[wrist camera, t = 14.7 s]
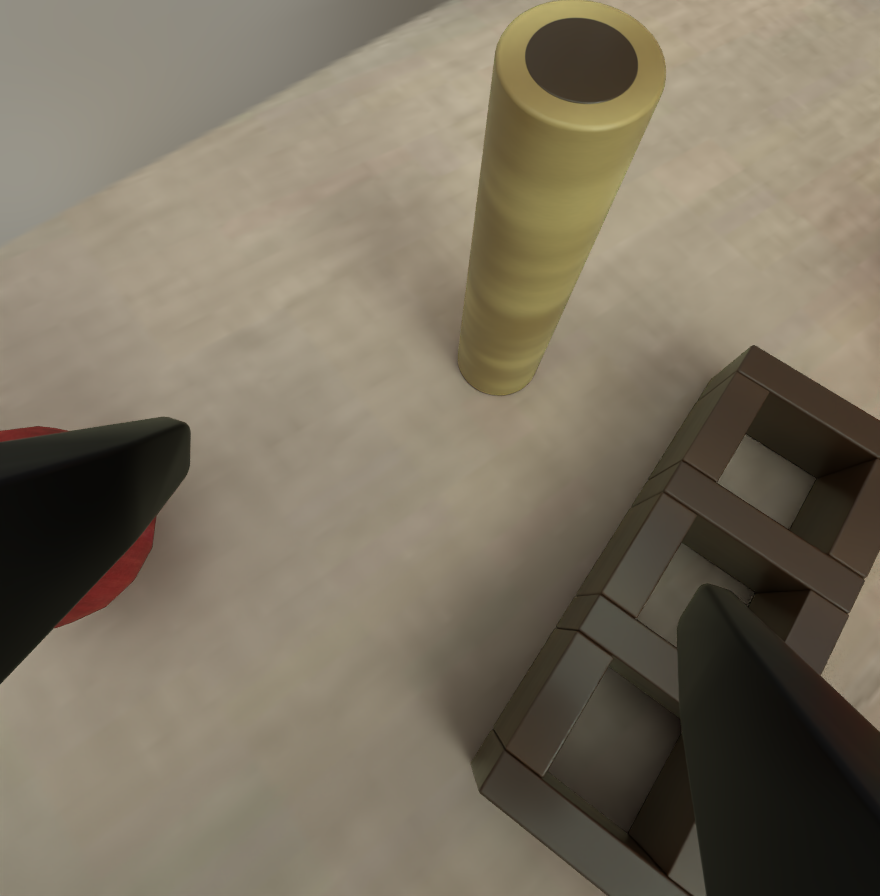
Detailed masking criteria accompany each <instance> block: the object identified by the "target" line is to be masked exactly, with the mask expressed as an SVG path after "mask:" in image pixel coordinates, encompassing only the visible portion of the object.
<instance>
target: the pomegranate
mask: <svg viewBox="0 0 880 896" xmlns="http://www.w3.org/2000/svg"><path fill="white" fill-rule="evenodd" d="M61 432H67V430H62V429H57V428H50V427H41V426H35V427H27V428H19V429H12V430H4V431H0V442H3V441H9V440H16V439H22V438H29V437H35V436H42V435H48V434H55V433H61ZM155 522H156V516H155V518H154V519H153V520H152V522H151V523H150V524H149V526H148V527H147V528H146V530H145V531H144V532H143V533H142V534H141V536H140V537H139V538H138V539H137V541H136V542H135V543H134V544H133V545H132V546H131V547H130V548H129V549H128V551H127V552H126V553H125V554H124V555H123V556H122V557H121V558H120V559H119V560H118V561H117V562H116V563H115V564H114V565H113V566H112V567H111V569H110V570H109V571H108V572H107V573H106V574H105V575H104V576H103V577H102V578H101V579H100V580H99V581H98V582H97V583H96V584H95V585H94V586H93V587H92V588H91V590H90V591H89V592H88V593H87V594H86V595H85V596H84V597H83V598H82V599H81V600H80V601H79V602H78V603H77V604H76V605H75V606H74V607H73V608H72V609H71V611H70V612H69V613H68V614H67V615H66V616H65V617H64V618H63V619H62V620H61V621H60V622H59V623H58V624H57V625H56V626H55V627H54V628H57V627H60V626H63V625H66V624H69V623H72V622H74V621H76V620H78V619H81V618H83V617H85V616H87V615H89V614H91V613H93V612H96V611H98V610H100V609H102V608H104V607H106V606H107V605H108V604H109V603H110V602H111V601H112V600H114V599H115V598H116V597H117V596H118V595H119V594H120V593H121V592H122V591H123V590H124V589H125V588H126V587H127V586H128V585H129V584H130V583H131V582H133V581H134V579H135V578H136V576H137V574H138V572H139V570H140V569H141V567H142V565H143V563H144V561H145V560H146V558H147V556H148V554H149V552H150V550H151V549H152V544H153V537H154V529H155Z"/></svg>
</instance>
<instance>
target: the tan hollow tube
mask: <svg viewBox="0 0 880 896" xmlns="http://www.w3.org/2000/svg"><path fill="white" fill-rule="evenodd" d="M665 80H666V65H665V59H664V56H663V53H662V50H661V48H660V46H659V44H658V42H657V41H656V39H655V38H654V37H653V35H652V34H651V33H650V32H649V31H648V30H647V28H646V27H645V26H643V25H642V24H641V23H640V22H639V21H637V20H636V19H634V18H633V17H631V16H630V15H628V14H626V13H624V12H623V11H621V10H619V9H616V8H614V7H611V6H608V5H605V4H602V3H598V2H593V1H586V0H558V1H553V2H548V3H544V4H541V5H538V6H535V7H533V8H531V9H529V10H527V11H525V12H524V13H522V14H520V15H519V16H518V17H517V18H515V19H514V20H513V21H512V22H511V23H510V24H509V25H508V27H507V28H506V29H505V31H504V32H503V34H502V35H501V37H500V39H499V42H498V44H497V47H496V51H495V58H494V66H493V74H492V82H491V90H490V98H489V106H488V114H487V122H486V130H485V138H484V146H483V155H482V163H481V171H480V179H479V187H478V195H477V203H476V211H475V219H474V227H473V235H472V243H471V251H470V259H469V267H468V275H467V284H466V292H465V300H464V308H463V316H462V324H461V332H460V340H459V348H458V365H459V368H460V371H461V373H462V375H463V376H464V378H465V379H466V380H467V382H468V383H469V384H470V385H472V386H473V387H474V388H476V389H477V390H479V391H481V392H484V393H487V394H491V395H508V394H511V393H514V392H517V391H519V390H521V389H522V388H524V387H525V386H526V385H527V384H528V383H529V382H530V381H531V379H532V378H533V376H534V374H535V372H536V370H537V368H538V366H539V363H540V361H541V359H542V357H543V355H544V352H545V350H546V348H547V346H548V344H549V341H550V339H551V337H552V335H553V333H554V330H555V328H556V326H557V324H558V322H559V319H560V317H561V315H562V313H563V311H564V308H565V306H566V304H567V302H568V300H569V297H570V295H571V293H572V291H573V289H574V286H575V284H576V282H577V280H578V278H579V275H580V273H581V271H582V269H583V267H584V264H585V262H586V260H587V258H588V256H589V253H590V251H591V249H592V247H593V245H594V242H595V240H596V238H597V236H598V234H599V231H600V229H601V227H602V225H603V223H604V220H605V218H606V216H607V214H608V212H609V209H610V207H611V205H612V203H613V201H614V198H615V196H616V194H617V192H618V190H619V187H620V185H621V183H622V181H623V179H624V176H625V174H626V172H627V170H628V168H629V165H630V163H631V161H632V159H633V157H634V154H635V152H636V150H637V148H638V146H639V143H640V141H641V139H642V137H643V135H644V132H645V130H646V128H647V126H648V124H649V121H650V119H651V117H652V115H653V113H654V110H655V108H656V106H657V104H658V102H659V99H660V97H661V95H662V92H663V89H664V87H665Z"/></svg>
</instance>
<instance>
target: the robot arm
mask: <svg viewBox="0 0 880 896" xmlns="http://www.w3.org/2000/svg"><path fill="white" fill-rule="evenodd" d="M190 440H191V432H190V427H189V426H188V425H187V423H185V422H182V421H179V420H176V419H172V418H169V417H158V418H151V419H145V420H138V421H132V422H126V423H119V424H113V425H106V426H100V427H93V428H87V429H80V430H74V431H67V432H61V433H55V434H48V435H42V436H35V437H29V438H22V439H16V440H9V441H3V442H0V684H1V683H2V682H3V681H4V680H5V679H6V678H7V677H8V676H9V675H10V674H11V673H12V671H13V670H14V669H15V668H16V667H17V666H18V665H19V664H20V663H21V662H22V661H23V660H24V659H25V658H26V657H27V656H28V655H29V654H30V653H31V652H32V650H33V649H34V648H35V647H36V646H37V645H38V644H39V643H40V642H41V641H42V640H43V639H44V638H45V637H46V636H47V635H48V634H49V633H50V632H51V631H52V629H53V628H54V627H55V626H56V625H57V624H58V623H59V622H60V621H61V620H62V619H63V618H64V617H65V616H66V615H67V614H68V613H69V612H70V611H71V609H72V608H73V607H74V606H75V605H76V604H77V603H78V602H79V601H80V600H81V599H82V598H83V597H84V596H85V595H86V594H87V593H88V592H89V591H90V590H91V588H92V587H93V586H94V585H95V584H96V583H97V582H98V581H99V580H100V579H101V578H102V577H103V576H104V575H105V574H106V573H107V572H108V571H109V570H110V569H111V567H112V566H113V565H114V564H115V563H116V562H117V561H118V560H119V559H120V558H121V557H122V556H123V555H124V554H125V553H126V552H127V551H128V549H129V548H130V547H131V546H132V545H133V544H134V543H135V542H136V541H137V539H138V538H139V537H140V536H141V534H142V533H143V532H144V531H145V530H146V528H147V527H148V526H149V524H150V523H151V522H152V520H153V519H154V518H155V516H156V515H157V514H158V512H159V511H160V510H161V509H162V507H163V506H164V505H165V503H166V502H167V501H168V499H169V498H170V497H171V495H172V494H173V493H174V491H175V490H176V489H177V488H178V486H179V485H180V484H181V482H182V481H183V480H184V478H185V477H186V475H187V473H188V470H189V467H190ZM677 654H678V685H679V709H680V721H681V729H682V737H683V743H684V750H685V757H686V763H687V770H688V777H689V783H690V790H691V797H692V803H693V810H694V817H695V823H696V830H697V837H698V844H699V850H700V857H701V864H702V870H703V877H704V884H705V890H706V896H880V732H879V731H878V730H877V729H876V728H875V727H874V726H873V725H872V724H871V723H870V722H869V721H868V720H867V719H866V718H864V717H863V716H862V715H861V714H860V713H859V712H858V711H857V710H856V709H855V708H854V707H853V706H852V705H851V704H850V703H849V702H848V701H846V700H845V699H844V698H843V697H842V696H841V695H840V694H839V693H838V692H837V691H836V690H835V689H834V688H833V687H832V686H831V685H830V684H829V683H827V682H826V681H825V680H824V679H823V678H822V677H821V676H820V675H819V674H818V673H817V672H816V671H815V670H814V669H813V668H812V667H811V666H810V665H808V664H807V663H806V662H805V661H804V660H803V659H802V658H801V657H800V656H799V655H798V654H797V653H796V652H795V651H794V650H793V649H792V648H791V647H789V646H788V645H787V644H786V643H785V642H784V641H783V640H782V639H781V638H780V637H779V636H778V635H777V634H776V633H775V632H774V631H773V630H772V629H770V628H769V627H768V626H767V625H766V624H765V623H764V622H763V621H762V620H761V619H760V618H759V617H758V616H757V615H756V614H755V613H754V612H752V611H751V610H750V609H749V608H748V607H747V606H746V605H745V604H744V603H743V602H742V601H741V600H740V599H739V598H738V597H737V596H736V595H735V594H733V593H732V592H731V591H729V590H727V589H724V588H721V587H718V586H714V585H711V584H703V585H701V586H700V587H699V588H698V590H697V591H696V593H695V594H694V596H693V598H692V599H691V601H690V603H689V604H688V606H687V607H686V609H685V611H684V612H683V614H682V616H681V617H680V620H679V622H678V626H677Z"/></svg>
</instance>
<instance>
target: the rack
mask: <svg viewBox="0 0 880 896" xmlns="http://www.w3.org/2000/svg"><path fill="white" fill-rule="evenodd" d="M746 433H747V434H748V435H750V436H751V437H753V438H755V439H756V440H758V441H759V442H761V443H762V444H764V445H766V446H767V447H769V448H770V449H772V450H774V451H775V452H777V453H778V454H780V455H781V456H783V457H785V458H786V459H788V460H789V461H791V462H793V463H794V464H796V465H797V466H799V467H801V468H802V469H804V470H805V471H807V472H808V473H810V474H812V475H813V476H815V477H816V478H818V479H817V480H816V481H815V483H814V485H813V487H812V489H811V491H810V493H809V495H808V496H807V498H806V500H805V502H804V504H803V506H802V508H801V510H800V512H799V513H798V515H797V517H796V519H795V521H794V523H793V525H792V527H791V529H790V530H788V529H787V528H785V527H784V526H782V525H781V524H779V523H778V522H776V521H774V520H773V519H771V518H770V517H768V516H767V515H765V514H764V513H762V512H761V511H759V510H758V509H756V508H754V507H753V506H751V505H750V504H748V503H747V502H745V501H744V500H742V499H741V498H739V497H738V496H736V495H735V494H733V493H731V492H730V491H728V490H727V489H725V488H724V487H722V486H721V485H719V484H718V483H716V482H717V481H718V480H719V478H720V476H721V475H722V473H723V471H724V469H725V468H726V466H727V464H728V463H729V461H730V459H731V458H732V456H733V454H734V452H735V451H736V449H737V447H738V446H739V444H740V442H741V440H742V439H743V437H744V435H745V434H746ZM648 480H649V481H647V482H646V484H645V486H644V487H643V489H642V490H641V492H640V493H639V495H638V497H637V498H636V500H635V501H634V503H633V505H632V508H631V509H629V511H628V513H627V514H626V516H625V517H624V519H623V520H622V522H621V524H620V525H619V527H618V528H617V530H616V532H615V533H614V535H613V536H612V538H611V540H610V541H609V543H608V544H607V546H606V548H605V549H604V551H603V552H602V554H601V556H600V557H599V559H598V560H597V562H596V564H595V565H594V567H593V568H592V570H591V572H590V573H589V575H588V576H587V578H586V580H585V581H584V583H583V584H582V586H581V588H580V589H579V591H578V592H577V594H576V596H577V597H574V599H573V600H572V602H571V603H570V605H569V607H568V608H567V610H566V611H565V613H564V615H563V616H562V618H561V619H560V621H559V623H558V624H557V626H556V627H557V629H554V631H553V632H552V634H551V635H550V637H549V639H548V640H547V642H546V643H545V645H544V647H543V648H542V650H541V651H540V653H539V655H538V656H537V658H536V659H535V661H534V663H533V664H532V666H531V667H530V669H529V671H528V672H527V674H526V675H525V677H524V679H523V680H522V682H521V683H520V685H519V687H518V688H517V690H516V691H515V693H514V695H513V696H512V698H511V699H510V701H509V703H508V704H507V706H506V707H505V709H504V711H503V712H502V714H501V715H500V717H499V718H498V720H497V722H496V723H495V725H494V730H491V731H490V733H489V734H488V736H487V738H486V739H485V741H484V742H483V744H482V746H481V747H480V749H479V750H478V752H477V754H476V755H475V757H474V758H473V760H472V762H471V767H472V770H473V773H474V777H475V780H476V783H477V787H478V790H479V792H480V794H482V795H483V796H484V797H485V798H487V799H488V800H489V801H490V802H492V803H493V804H494V805H495V806H497V807H498V808H499V809H500V810H502V811H503V812H504V813H505V814H506V815H508V816H509V817H510V818H511V819H513V820H514V821H515V822H516V823H518V824H519V825H520V826H521V827H523V828H524V829H525V830H526V831H528V832H529V833H530V834H531V835H533V836H534V837H535V838H536V839H538V840H539V841H540V842H541V843H543V844H544V845H545V846H546V847H548V848H549V849H550V850H551V851H553V852H554V853H555V854H556V855H558V856H559V857H560V858H561V859H563V860H564V861H565V862H566V863H567V864H569V865H570V866H571V867H572V868H574V869H575V870H576V871H577V872H579V873H580V874H581V875H582V876H584V877H585V878H586V879H587V880H589V881H590V882H591V883H592V884H594V885H595V886H596V887H597V888H599V889H600V890H601V891H602V892H604V893H605V894H606V895H607V896H706V890H705V884H704V877H703V870H702V864H701V857H700V850H699V844H698V837H697V830H696V823H695V817H694V810H693V803H692V797H691V790H690V783H689V777H688V770H687V763H686V757H685V750H684V743H683V737H682V733H681V735H680V737H679V739H678V740H677V742H676V744H675V746H674V748H673V750H672V752H671V754H670V756H669V757H668V759H667V761H666V763H665V765H664V767H663V769H662V771H661V772H660V774H659V776H658V778H657V780H656V782H655V784H654V786H653V788H652V789H651V791H650V793H649V795H648V797H647V799H646V801H645V803H644V804H643V806H642V808H641V810H640V812H639V814H638V816H637V818H636V820H635V821H634V823H633V825H632V827H631V829H630V831H629V834H627V833H626V832H625V831H623V830H622V829H621V828H620V827H618V826H617V825H616V824H614V823H613V822H612V821H611V820H609V819H608V818H607V817H605V816H604V815H603V814H602V813H600V812H599V811H598V810H596V809H595V808H594V807H593V806H591V805H590V804H589V803H587V802H586V801H585V800H584V799H582V798H581V797H580V796H578V795H577V794H576V793H575V792H573V791H572V790H571V789H569V788H568V787H567V786H566V785H564V784H563V783H562V782H560V781H559V780H558V779H557V778H555V777H554V776H553V775H551V774H550V773H549V772H548V769H549V767H550V766H551V764H552V762H553V760H554V759H555V757H556V755H557V754H558V752H559V750H560V749H561V747H562V745H563V743H564V742H565V740H566V738H567V737H568V735H569V733H570V732H571V730H572V728H573V726H574V725H575V723H576V721H577V720H578V718H579V716H580V714H581V713H582V711H583V709H584V708H585V706H586V704H587V703H588V701H589V699H590V697H591V696H592V694H593V692H594V691H595V689H596V687H597V685H598V684H599V682H600V680H601V679H602V677H603V675H604V674H605V672H606V670H607V668H608V667H610V668H612V669H613V670H614V671H616V672H617V673H619V674H620V675H621V676H623V677H624V678H625V679H627V680H628V681H629V682H631V683H632V684H634V685H635V686H636V687H638V688H639V689H640V690H642V691H643V692H645V693H646V694H647V695H649V696H650V697H651V698H653V699H654V700H655V701H657V702H658V703H660V704H661V705H662V706H664V707H665V708H666V709H668V710H669V711H671V712H672V713H673V714H675V715H676V716H677V717H679V718H680V709H679V685H678V654H677V648H676V647H675V646H673V645H672V644H671V643H669V642H668V641H666V640H665V639H663V638H662V637H661V636H659V635H658V634H656V633H655V632H654V631H652V630H651V629H649V628H648V627H647V626H645V625H644V624H642V623H641V622H640V621H638V620H637V619H635V618H637V617H638V616H639V614H640V612H641V611H642V609H643V607H644V605H645V604H646V602H647V600H648V599H649V597H650V595H651V594H652V592H653V590H654V588H655V587H656V585H657V583H658V582H659V580H660V578H661V576H662V575H663V573H664V571H665V570H666V568H667V566H668V565H669V563H670V561H671V559H672V558H673V556H674V554H675V553H676V551H677V549H678V548H679V546H680V544H681V542H682V543H684V544H685V545H687V546H688V547H690V548H691V549H693V550H694V551H696V552H697V553H699V554H700V555H702V556H703V557H705V558H706V559H708V560H709V561H710V562H712V563H713V564H715V565H716V566H718V567H719V568H721V569H722V570H724V571H725V572H727V573H728V574H730V575H731V576H733V577H734V578H736V579H737V580H739V581H740V582H742V583H743V584H744V585H746V586H747V587H749V588H750V589H752V590H753V591H755V592H756V594H755V595H754V597H753V599H752V601H751V603H750V605H749V607H748V608H749V609H750V610H751V611H752V612H754V613H755V614H756V615H757V616H758V617H759V618H760V619H761V620H762V621H763V622H764V623H765V624H766V625H767V626H768V627H769V628H770V629H772V630H773V631H774V632H775V633H776V634H777V635H778V636H779V637H780V638H781V639H782V640H783V641H784V642H785V643H786V644H787V645H788V646H789V647H791V648H792V649H793V650H794V651H795V652H796V653H797V654H798V655H799V656H800V657H801V658H802V659H803V660H804V661H805V662H806V663H807V664H808V665H810V666H811V667H812V668H813V669H814V670H815V671H816V672H817V673H818V674H819V675H820V676H821V674H822V672H823V670H824V668H825V665H826V663H827V661H828V659H829V657H830V655H831V653H832V651H833V649H834V646H835V644H836V642H837V640H838V638H839V636H840V634H841V632H842V630H843V628H844V625H845V623H846V621H847V619H848V617H849V615H848V613H850V611H851V609H852V607H853V605H854V603H855V601H856V599H857V596H858V594H859V592H860V590H861V588H862V586H863V584H864V582H865V580H864V579H865V578H866V577H867V576H868V574H869V572H870V570H871V567H872V565H873V563H874V561H875V559H876V557H877V555H878V553H879V551H880V420H878V419H876V418H875V417H873V416H871V415H870V414H868V413H866V412H865V411H863V410H861V409H860V408H858V407H856V406H855V405H853V404H851V403H850V402H848V401H846V400H845V399H843V398H841V397H840V396H838V395H836V394H835V393H833V392H831V391H830V390H828V389H826V388H825V387H823V386H821V385H820V384H818V383H816V382H815V381H813V380H812V379H810V378H808V377H807V376H805V375H803V374H802V373H800V372H798V371H797V370H795V369H793V368H792V367H790V366H788V365H787V364H785V363H783V362H782V361H780V360H778V359H777V358H775V357H773V356H772V355H770V354H768V353H767V352H765V351H763V350H762V349H760V348H758V347H757V346H755V345H752V346H751V347H750V348H748V349H747V350H746V351H745V352H743V353H742V354H741V355H740V356H739V357H737V358H736V359H735V360H734V361H733V362H731V363H730V364H729V365H728V366H726V367H725V368H724V369H723V370H722V371H720V372H719V373H718V374H717V375H716V376H714V377H713V378H712V379H711V380H710V382H709V383H708V385H707V387H706V388H705V390H704V391H703V393H702V395H701V396H700V398H699V399H698V402H697V403H696V404H695V405H694V407H693V409H692V410H691V412H690V413H689V415H688V417H687V418H686V420H685V421H684V423H683V425H682V426H681V428H680V429H679V431H678V433H677V434H676V436H675V437H674V439H673V441H672V442H671V444H670V445H669V447H668V448H667V450H666V452H665V453H664V455H663V456H662V458H661V460H660V461H659V463H658V464H657V466H656V468H655V469H654V471H653V472H652V474H651V476H650V477H649V479H648Z"/></svg>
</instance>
